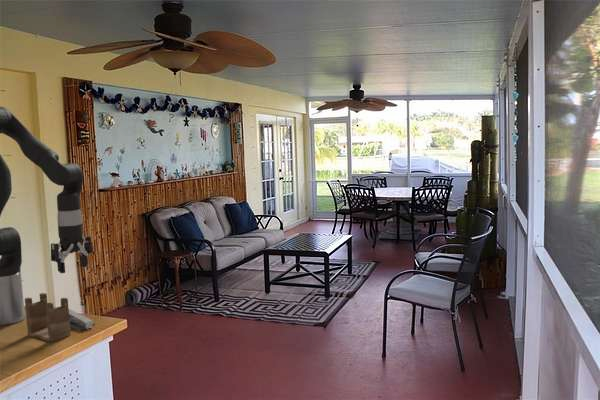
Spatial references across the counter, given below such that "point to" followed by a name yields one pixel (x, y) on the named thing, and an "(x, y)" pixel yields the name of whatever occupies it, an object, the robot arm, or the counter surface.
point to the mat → (76, 326)
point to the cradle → (47, 319)
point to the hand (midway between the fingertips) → (73, 269)
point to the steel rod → (80, 319)
